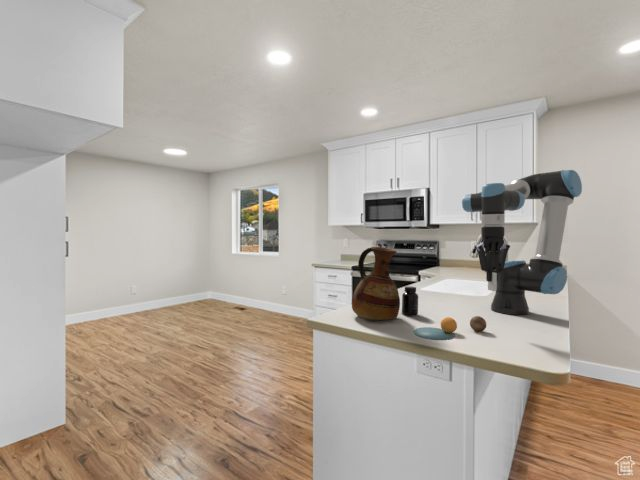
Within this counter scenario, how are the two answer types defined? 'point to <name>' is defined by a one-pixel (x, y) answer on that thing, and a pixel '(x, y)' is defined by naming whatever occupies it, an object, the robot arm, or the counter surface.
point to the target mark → (433, 333)
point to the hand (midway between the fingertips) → (492, 290)
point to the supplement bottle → (410, 301)
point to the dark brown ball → (478, 323)
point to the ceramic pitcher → (376, 288)
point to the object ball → (448, 325)
